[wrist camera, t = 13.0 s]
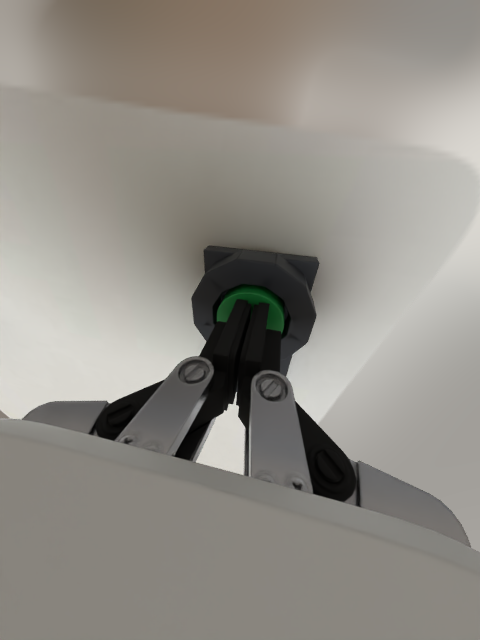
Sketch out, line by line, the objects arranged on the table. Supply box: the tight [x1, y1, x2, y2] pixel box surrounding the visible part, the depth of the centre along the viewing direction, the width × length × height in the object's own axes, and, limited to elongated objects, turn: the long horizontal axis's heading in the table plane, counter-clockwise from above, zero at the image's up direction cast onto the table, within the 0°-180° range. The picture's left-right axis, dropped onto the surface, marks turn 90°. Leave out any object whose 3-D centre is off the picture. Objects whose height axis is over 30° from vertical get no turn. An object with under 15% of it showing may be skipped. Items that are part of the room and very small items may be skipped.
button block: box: [192, 246, 319, 392], centre depth 13 cm, size 12×6×2 cm, turn 177°
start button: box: [217, 284, 284, 334], centre depth 11 cm, size 4×4×2 cm
